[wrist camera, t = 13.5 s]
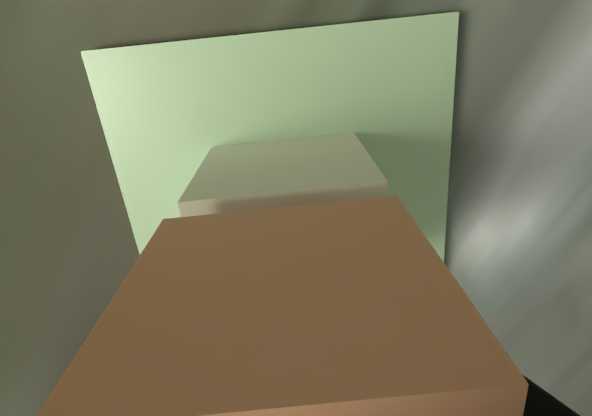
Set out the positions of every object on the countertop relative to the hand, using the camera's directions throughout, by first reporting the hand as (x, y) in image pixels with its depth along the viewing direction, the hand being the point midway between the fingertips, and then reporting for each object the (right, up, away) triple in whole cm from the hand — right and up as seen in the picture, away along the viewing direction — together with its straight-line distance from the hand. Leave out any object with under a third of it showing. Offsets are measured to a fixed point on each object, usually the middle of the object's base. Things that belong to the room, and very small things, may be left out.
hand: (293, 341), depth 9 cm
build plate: (0, +3, +7) cm, 8 cm away
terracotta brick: (0, +1, +1) cm, 1 cm away
